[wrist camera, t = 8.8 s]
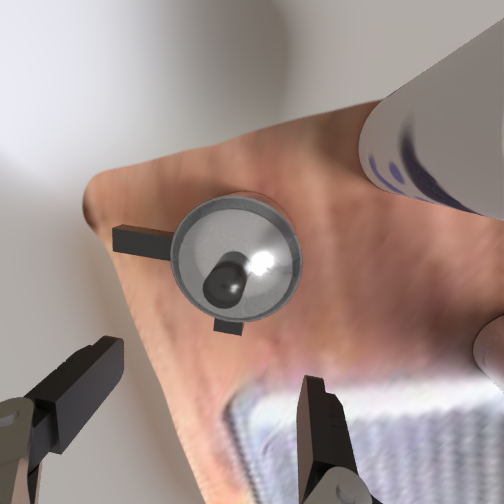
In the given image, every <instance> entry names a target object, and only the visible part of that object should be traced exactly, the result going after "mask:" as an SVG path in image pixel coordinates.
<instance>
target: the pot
mask: <svg viewBox="0 0 504 504" xmlns="http://www.w3.org/2000/svg"><path fill="white" fill-rule="evenodd" d="M227 208H240V209H246V210H250V211H253V212H256V213H258V214H260V215H262V216H264V217H266V218H267V219H269V220H270V221H271V222H272V223H274V224H275V225H276V226H277V227H278V229H279V230H280V231H281V232H282V234H283V235H284V237H285V238H286V240H287V243H288V245H289V248H290V251H291V256H292V277H291V281H290V284H289V286H288V289H287V291H286V292H285V294H284V296H283V297H282V298H281V299H280V301H279V302H278V303H277V304H275V305H274V306H273V307H272V308H270V309H269V310H267V311H265V312H263V313H261V314H259V315H256V316H252V317H246V318H231V317H226V316H222V315H219V314H216V313H214V312H212V311H210V310H208V309H206V308H205V307H203V306H202V305H201V304H199V303H198V302H197V301H196V300H195V299H194V298H193V297H192V296H191V294H190V293H189V292H188V290H187V288H186V287H185V285H184V283H183V280H182V278H181V274H180V270H179V251H180V247H181V244H182V241H183V239H184V237H185V235H186V234H187V232H188V231H189V229H190V228H191V227H192V226H193V225H194V224H195V223H196V222H197V221H198V220H200V219H202V218H203V217H205V216H206V215H208V214H210V213H212V212H215V211H218V210H221V209H227ZM112 237H113V251H114V252H120V253H126V254H132V255H138V256H144V257H150V258H155V259H161V260H167V261H171V267H172V271H173V275H174V278H175V280H176V282H177V284H178V286H179V288H180V290H181V291H182V293H183V294H184V295H185V297H186V298H187V299H188V300H189V301H190V302H191V303H192V304H193V305H194V306H196V307H197V308H198V309H200V310H201V311H203V312H204V313H206V314H208V315H210V316H212V317H215V320H214V330H213V331H218V332H223V333H229V334H234V335H240V336H241V335H242V331H243V327H244V322H251V321H256V320H260V319H262V318H265V317H268V316H269V315H271V314H273V313H275V312H276V311H278V310H279V309H281V308H282V307H283V306H284V305H285V304H286V303H287V302H288V301H289V299H290V298H291V297H292V295H293V294H294V292H295V290H296V288H297V286H298V284H299V281H300V277H301V273H302V253H301V247H300V244H299V240H298V238H297V235H296V231H295V228H294V225H293V223H292V220H291V218H290V217H289V215H288V214H287V212H286V211H285V210H284V209H283V208H282V207H281V206H280V205H279V204H278V203H277V202H275V201H274V200H272V199H271V198H269V197H267V196H265V195H262V194H259V193H255V192H248V191H240V192H233V193H229V194H226V195H224V196H222V197H217V198H214V199H211V200H208V201H206V202H204V203H202V204H200V205H199V206H197V207H196V208H194V209H193V210H192V211H190V212H189V213H188V214H187V215H186V216H185V218H184V219H183V220H182V221H181V223H180V224H179V226H178V228H177V229H176V232H175V233H172V232H166V231H160V230H154V229H148V228H141V227H135V226H129V225H123V224H122V225H120V226H117V227H114V228H112Z"/></svg>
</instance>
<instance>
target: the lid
mask: <svg viewBox="0 0 504 504" xmlns="http://www.w3.org/2000/svg"><path fill="white" fill-rule="evenodd" d="M179 270H180V274H181V278H182V280H183V283H184V285H185V287H186V288H187V290H188V292H189V293H190V294H191V296H192V297H193V298H194V299H195V300H196V301H197V302H198V303H199V304H201V305H202V306H203V307H205V308H206V309H208V310H210V311H212V312H214V313H216V314H219V315H222V316H226V317H231V318H246V317H252V316H256V315H259V314H261V313H263V312H265V311H267V310H269V309H270V308H272V307H273V306H274V305H275V304H277V303H278V302H279V301H280V299H281V298H282V297H283V296H284V294H285V292H286V291H287V289H288V286H289V284H290V281H291V277H292V256H291V251H290V248H289V245H288V243H287V240H286V238H285V237H284V235H283V234H282V232H281V231H280V230H279V229H278V227H277V226H276V225H275V224H274V223H272V222H271V221H270V220H269V219H267V218H266V217H264V216H262V215H260V214H258V213H256V212H253V211H250V210H246V209H240V208H227V209H221V210H218V211H215V212H212V213H210V214H208V215H206V216H205V217H203V218H202V219H200V220H198V221H197V222H196V223H195V224H194V225H193V226H192V227H191V228H190V229H189V231H188V232H187V234H186V235H185V237H184V239H183V241H182V244H181V247H180V251H179Z"/></svg>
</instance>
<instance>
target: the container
mask: <svg viewBox="0 0 504 504" xmlns="http://www.w3.org/2000/svg"><path fill="white" fill-rule="evenodd" d="M359 159H360V163H361V166H362V168H363V170H364V172H365V174H366V175H367V177H368V178H369V179H370V180H371V182H373V183H374V184H375V185H376V186H378V187H379V188H381V189H383V190H385V191H387V192H391V193H394V194H398V195H402V196H406V197H410V198H414V199H418V200H422V201H426V202H430V203H434V204H438V205H442V206H446V207H450V208H454V209H458V210H462V211H466V212H470V213H474V214H478V215H482V216H486V217H490V218H494V219H498V220H502V221H504V18H503V19H502V20H500V21H499V22H497V23H496V24H494V25H493V26H491V27H490V28H488V29H487V30H485V31H484V32H482V33H481V34H479V35H478V36H476V37H475V38H473V39H472V40H470V41H469V42H468V43H466V44H464V45H463V46H462V47H460V48H459V49H457V50H456V51H454V52H453V53H451V54H450V55H448V56H447V57H445V58H444V59H442V60H441V61H439V62H438V63H436V64H435V65H433V66H432V67H430V68H429V69H427V70H426V71H425V72H423V73H421V74H420V75H418V76H417V77H416V78H414V79H413V80H411V81H410V82H408V83H407V84H405V85H404V86H402V87H401V88H399V89H398V90H396V91H395V92H393V93H392V94H390V95H389V96H387V97H386V98H385V99H383V100H382V101H381V102H380V103H379V104H378V105H377V106H376V107H375V108H374V109H373V110H372V112H371V113H370V115H369V116H368V118H367V119H366V121H365V123H364V126H363V128H362V131H361V134H360V139H359Z"/></svg>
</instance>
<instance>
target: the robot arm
mask: <svg viewBox="0 0 504 504" xmlns="http://www.w3.org/2000/svg"><path fill="white" fill-rule="evenodd" d="M473 356H474V360H475V362H476V364H477V365H478V367H479V368H480V369H481V370H482V371H483V372H484V373H485V374H486V375H487V376H488V377H489V378H490V379H491V380H492V381H493V382H494V383H495V384H496V385H497V386H498V387H499V389H500V390H501V391H502V392H503V393H504V315H503V316H501V317H499V318H497V319H495V320H493V321H491V322H490V323H489V324H488V325H486V326H485V327H484V328H483V329H482V330H481V331H480V333H479V334H478V336H477V338H476V339H475V342H474V346H473ZM123 371H124V341H123V339H121V338H116V337H110V336H103V337H102V338H100V339H99V340H98V341H97V342H96V343H95V344H94V345H93V346H91V345H88V346H86V347H84V348H82V349H80V350H78V351H76V352H75V353H74V354H72V355H71V356H70V357H69V358H68V359H67V360H66V362H63V363H62V364H61V365H60V366H59V367H58V368H57V369H55V370H54V371H53V372H52V373H50V374H49V375H48V376H47V377H46V378H45V379H43V380H42V381H41V382H40V383H39V384H38V385H36V387H34V388H33V389H32V390H31V391H30V392H29V393H27V394H26V395H25V396H24V397H18V398H11V399H8V400H5V401H2V402H0V504H38V497H39V488H40V480H41V471H42V459H43V458H44V457H45V456H46V455H47V453H48V452H52V453H56V454H62V453H63V452H64V450H65V449H66V448H67V447H68V445H69V444H70V443H71V442H72V440H73V439H74V438H75V437H76V435H77V434H78V433H79V432H80V430H81V429H82V428H83V426H84V425H85V424H86V423H87V421H88V420H89V419H90V418H91V416H92V415H93V414H94V413H95V411H96V410H97V409H98V408H99V406H100V405H101V404H102V402H103V401H104V400H105V399H106V398H107V396H108V395H109V394H110V392H111V391H112V390H113V389H114V387H115V386H116V385H117V384H118V382H119V381H120V379H121V377H122V374H123ZM296 422H297V455H298V487H299V504H383V503H381V502H379V501H378V500H377V499H376V498H374V497H373V496H372V495H371V494H370V492H369V490H368V488H367V486H366V484H365V483H364V481H363V480H362V479H361V478H360V477H359V475H358V471H357V467H356V463H355V458H354V454H353V449H352V445H351V441H350V436H349V432H348V427H347V423H346V421H345V414H344V410H343V406H342V404H341V403H340V401H339V400H338V398H337V397H336V395H335V394H330V393H326V391H325V385H324V380H323V378H319V377H313V376H308V375H305V376H304V379H303V383H302V388H301V392H300V397H299V401H298V406H297V417H296Z"/></svg>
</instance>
